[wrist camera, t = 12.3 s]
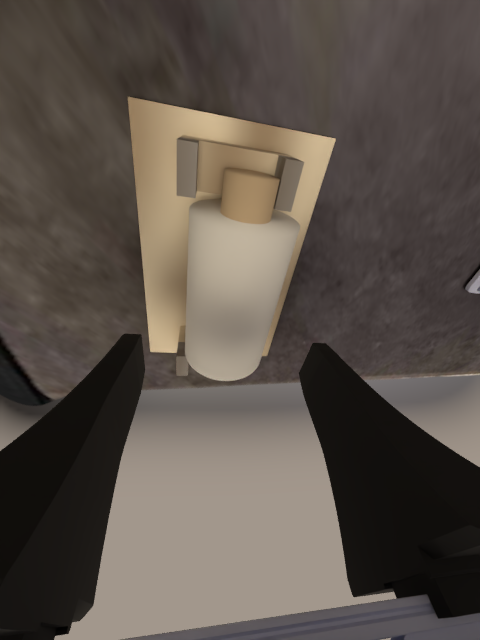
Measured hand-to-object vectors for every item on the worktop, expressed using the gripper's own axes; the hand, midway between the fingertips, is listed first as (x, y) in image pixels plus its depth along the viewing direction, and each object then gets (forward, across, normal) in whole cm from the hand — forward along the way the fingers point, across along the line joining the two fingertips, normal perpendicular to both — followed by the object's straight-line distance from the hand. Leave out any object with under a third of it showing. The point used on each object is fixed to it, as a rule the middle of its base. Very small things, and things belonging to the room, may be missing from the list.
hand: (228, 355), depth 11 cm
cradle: (+9, 0, 0) cm, 9 cm away
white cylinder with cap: (+7, +1, 0) cm, 7 cm away
